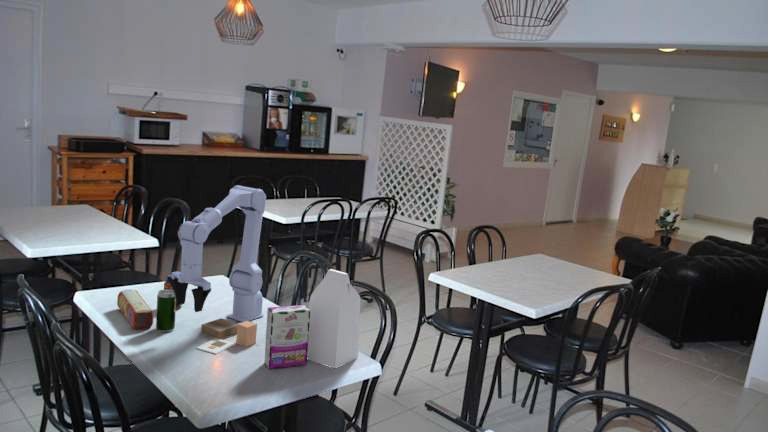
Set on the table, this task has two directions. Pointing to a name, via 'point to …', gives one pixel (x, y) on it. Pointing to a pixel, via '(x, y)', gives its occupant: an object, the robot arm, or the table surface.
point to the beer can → (165, 310)
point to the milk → (334, 321)
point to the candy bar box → (287, 336)
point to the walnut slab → (219, 328)
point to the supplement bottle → (170, 287)
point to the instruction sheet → (216, 346)
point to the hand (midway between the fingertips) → (189, 307)
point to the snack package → (135, 309)
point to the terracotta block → (246, 333)
